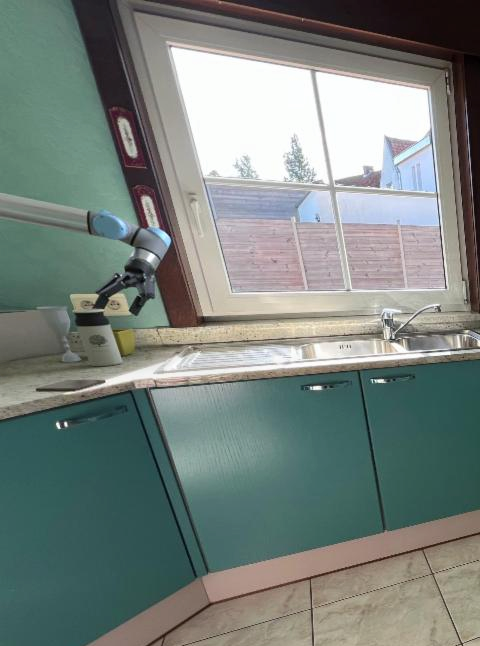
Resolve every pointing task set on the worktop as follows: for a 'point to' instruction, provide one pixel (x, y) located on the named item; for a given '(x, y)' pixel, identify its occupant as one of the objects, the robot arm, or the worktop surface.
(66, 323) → the chalice
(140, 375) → the worktop surface
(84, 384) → the coaster
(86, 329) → the travel mug
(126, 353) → the flower pot
